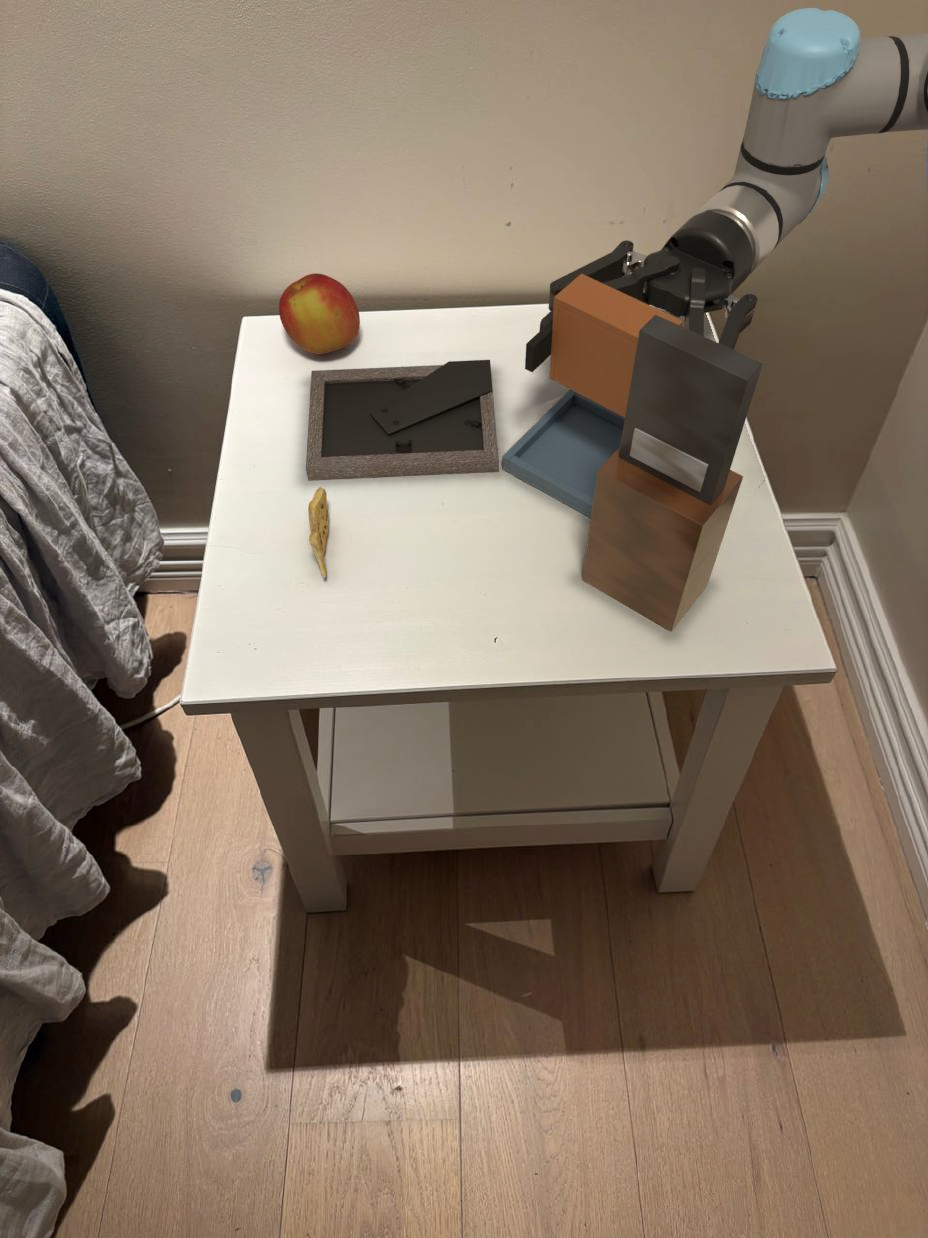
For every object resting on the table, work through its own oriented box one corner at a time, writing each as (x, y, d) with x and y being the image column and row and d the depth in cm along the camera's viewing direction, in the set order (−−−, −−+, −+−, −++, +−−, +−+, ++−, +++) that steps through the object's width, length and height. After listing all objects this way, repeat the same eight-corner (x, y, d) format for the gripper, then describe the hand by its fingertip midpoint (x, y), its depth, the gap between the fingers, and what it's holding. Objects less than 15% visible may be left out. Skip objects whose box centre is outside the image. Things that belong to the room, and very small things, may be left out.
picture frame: (490, 374, 99) (313, 382, 99) (490, 359, 97) (310, 367, 97) (498, 471, 91) (308, 480, 91) (499, 456, 90) (304, 465, 89)
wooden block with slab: (707, 585, 84) (785, 348, 62) (671, 632, 81) (739, 401, 59) (619, 536, 87) (664, 295, 65) (581, 579, 84) (616, 342, 63)
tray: (689, 460, 92) (692, 447, 90) (623, 536, 87) (625, 524, 85) (570, 400, 97) (572, 386, 95) (501, 469, 92) (501, 455, 90)
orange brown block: (667, 402, 83) (683, 320, 76) (642, 427, 81) (656, 346, 74) (574, 355, 87) (581, 272, 80) (549, 378, 85) (554, 296, 78)
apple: (340, 312, 105) (330, 247, 98) (374, 355, 101) (367, 291, 94) (275, 336, 103) (261, 272, 96) (308, 382, 99) (296, 318, 92)
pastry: (314, 510, 89) (306, 473, 85) (331, 509, 89) (323, 472, 85) (313, 587, 84) (304, 552, 80) (331, 586, 84) (323, 551, 80)
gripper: (819, 330, 88) (693, 478, 78) (610, 239, 96) (473, 363, 86) (845, 258, 81) (712, 410, 72) (619, 167, 89) (472, 293, 80)
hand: (581, 384), depth 79 cm, fingers closed on orange brown block, 10 cm apart
